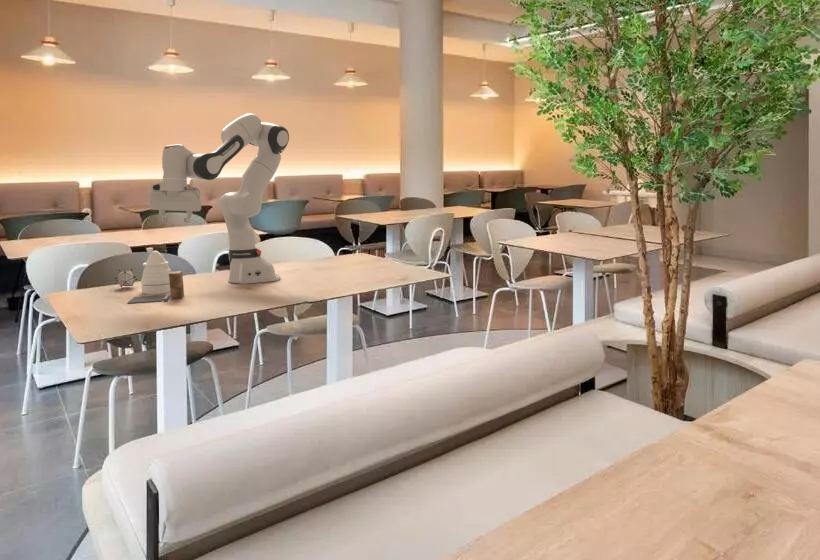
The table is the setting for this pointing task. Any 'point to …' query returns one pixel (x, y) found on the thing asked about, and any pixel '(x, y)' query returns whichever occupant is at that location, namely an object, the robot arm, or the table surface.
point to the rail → (167, 297)
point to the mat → (147, 299)
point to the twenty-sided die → (126, 278)
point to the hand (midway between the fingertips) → (176, 222)
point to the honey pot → (155, 274)
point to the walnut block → (176, 285)
